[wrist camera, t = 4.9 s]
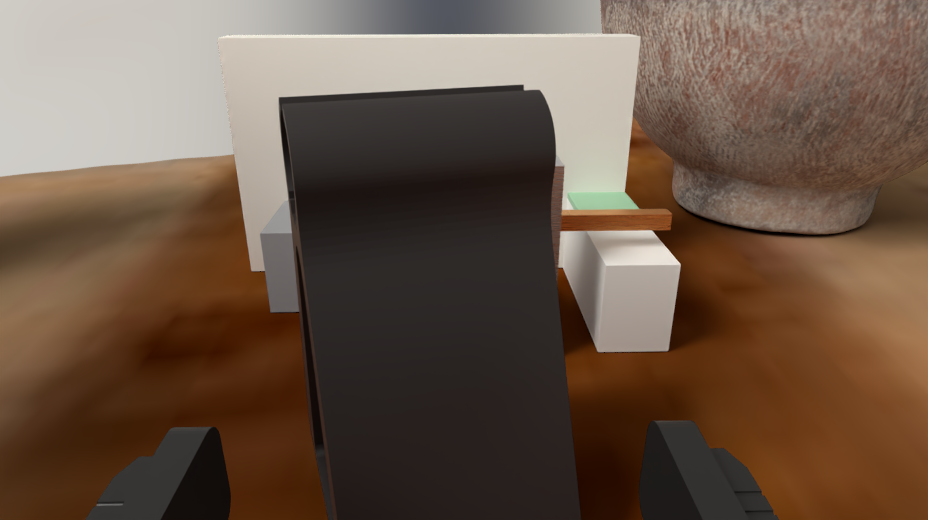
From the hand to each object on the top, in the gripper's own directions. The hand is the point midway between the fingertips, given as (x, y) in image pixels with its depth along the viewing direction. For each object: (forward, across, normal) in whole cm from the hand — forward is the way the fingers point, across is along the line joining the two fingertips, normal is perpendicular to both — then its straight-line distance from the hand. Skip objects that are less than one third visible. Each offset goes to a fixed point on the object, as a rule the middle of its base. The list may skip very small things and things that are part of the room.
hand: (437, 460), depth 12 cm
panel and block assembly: (+19, 0, -6) cm, 20 cm away
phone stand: (+5, 0, -6) cm, 8 cm away
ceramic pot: (+32, +22, -6) cm, 40 cm away
